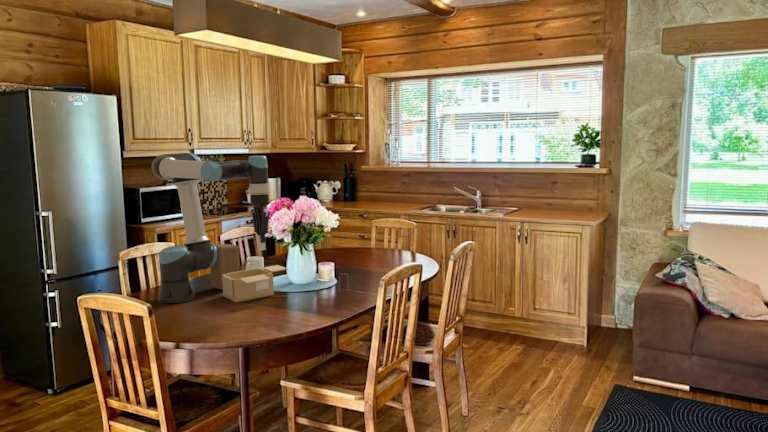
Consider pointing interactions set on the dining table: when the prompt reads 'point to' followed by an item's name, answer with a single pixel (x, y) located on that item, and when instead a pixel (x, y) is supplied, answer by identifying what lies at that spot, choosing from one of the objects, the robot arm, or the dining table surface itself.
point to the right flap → (275, 268)
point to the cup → (254, 263)
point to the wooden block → (224, 263)
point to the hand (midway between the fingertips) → (261, 249)
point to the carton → (246, 285)
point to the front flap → (254, 279)
